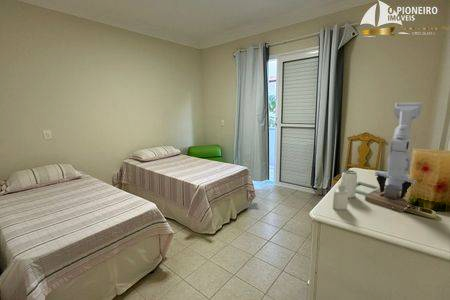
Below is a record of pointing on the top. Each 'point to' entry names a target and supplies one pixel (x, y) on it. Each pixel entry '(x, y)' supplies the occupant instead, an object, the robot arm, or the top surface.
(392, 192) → the billet
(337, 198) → the eye dropper bottle
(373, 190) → the grey rectangular frame
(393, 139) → the robot arm
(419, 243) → the top surface
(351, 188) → the can
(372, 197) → the pallet
